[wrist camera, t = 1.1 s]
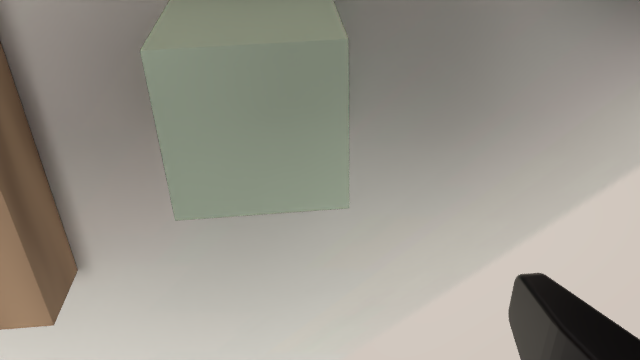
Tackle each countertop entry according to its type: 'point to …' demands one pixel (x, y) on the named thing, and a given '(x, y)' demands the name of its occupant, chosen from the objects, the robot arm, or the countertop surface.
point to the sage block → (250, 106)
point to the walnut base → (27, 224)
